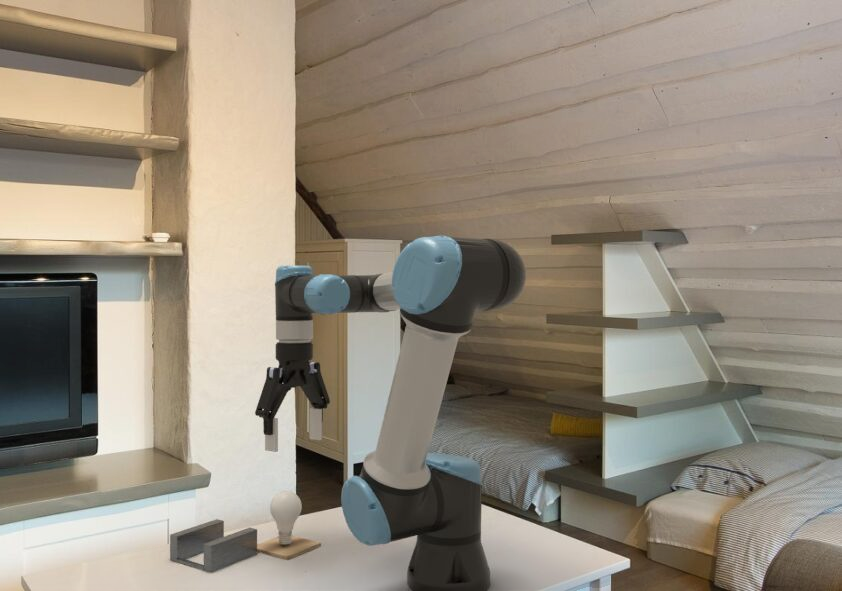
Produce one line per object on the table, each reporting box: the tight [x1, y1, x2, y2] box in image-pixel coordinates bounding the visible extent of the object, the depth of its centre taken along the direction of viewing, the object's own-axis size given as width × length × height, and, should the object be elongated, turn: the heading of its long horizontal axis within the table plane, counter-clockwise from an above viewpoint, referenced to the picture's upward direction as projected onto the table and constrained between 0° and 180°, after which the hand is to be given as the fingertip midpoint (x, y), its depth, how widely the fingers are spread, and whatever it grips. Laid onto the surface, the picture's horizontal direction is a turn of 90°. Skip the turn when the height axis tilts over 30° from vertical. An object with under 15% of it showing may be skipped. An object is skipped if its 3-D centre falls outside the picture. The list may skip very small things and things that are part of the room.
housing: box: [169, 518, 258, 573], centre depth 157 cm, size 12×12×5 cm
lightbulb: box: [269, 490, 302, 546], centre depth 162 cm, size 6×6×11 cm
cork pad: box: [257, 535, 322, 561], centre depth 163 cm, size 10×10×1 cm
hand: (294, 445), depth 163 cm, fingers open, 13 cm apart
